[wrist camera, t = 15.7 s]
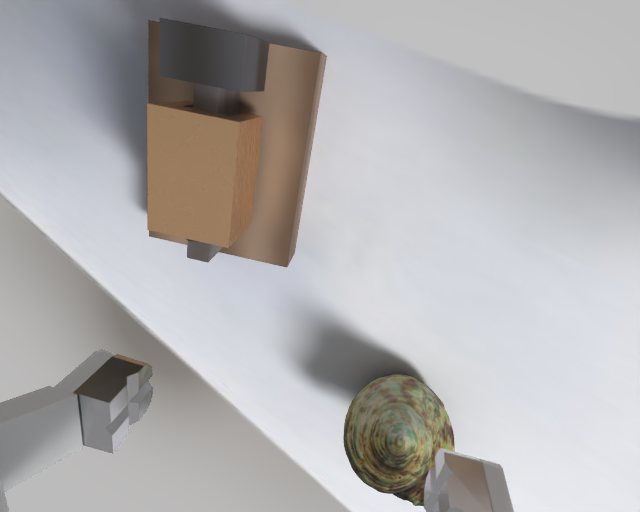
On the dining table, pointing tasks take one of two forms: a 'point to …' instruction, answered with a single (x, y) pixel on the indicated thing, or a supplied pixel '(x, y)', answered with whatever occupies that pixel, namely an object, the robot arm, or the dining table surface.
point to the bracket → (255, 98)
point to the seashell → (396, 435)
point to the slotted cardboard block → (201, 172)
